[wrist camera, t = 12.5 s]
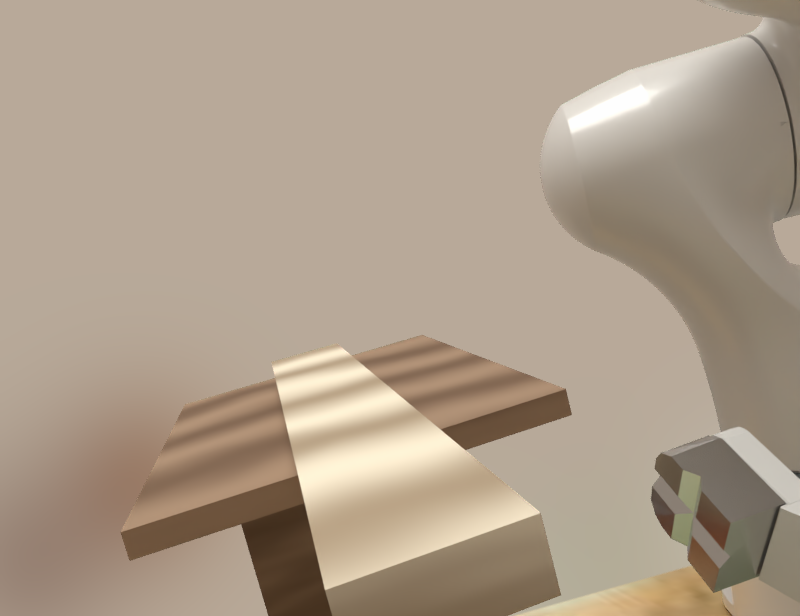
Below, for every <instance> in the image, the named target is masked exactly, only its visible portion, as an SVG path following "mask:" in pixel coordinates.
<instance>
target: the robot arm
mask: <svg viewBox="0 0 800 616" xmlns="http://www.w3.org/2000/svg"><path fill="white" fill-rule="evenodd" d="M698 1H700V2H703V3H705V4H707V5H709V6H712V7H715V8H718V9H722V10H726V11H730V12H734V13H740V14H746V15H753V16H760V17H763V19H762V22H761V24H760V25H759V27H758V28H757V29H755V30H754V31H752V32H750V33H748V34H745V35H743V36H741V37H740V38H737V39H734V40H731V41H727V42H723V43H720V44H717V45H713V46H710V47H706V48H703V49H700V50H696V51H693V52H689V53H686V54H683V55H679V56H676V57H673V58H669V59H666V60H662V61H659V62H655V63H652V64H649V65H645V66H642V67H638V68H635V69H632V70H629V71H627V72H625V73H622V74H620V75H618V76H616V77H614V78H612V79H610V80H608V81H606V82H604V83H602V84H600V85H598V86H596V87H594V88H592V89H590V90H588V91H587V92H584V93H582V94H581V95H579V96H577V97H575V98H573V99H572V100H570V101H568V102H566V103H564V104H562V105H561V106H560V107H559V109H558V110H557V112H556V113H555V115H554V116H553V119H552V120H551V122H550V124H549V126H548V129H547V132H546V134H545V137H544V141H543V145H542V151H541V156H540V175H541V183H542V188H543V192H544V195H545V198H546V201H547V203H548V205H549V208H550V209H551V211H552V213H553V215H554V216H555V218H556V219H557V221H558V222H559V223H560V225H562V227H563V228H564V229H565V230H566V231H567V232H568V233H569V234H570V235H571V236H572V237H573V238H575V239H576V240H577V241H579V242H580V243H582V244H583V245H585V246H587V247H588V248H591V249H592V250H594V251H597V252H600V253H602V254H605V255H607V256H609V257H611V258H613V259H615V260H617V261H620V262H621V263H623V264H625V265H626V266H628V267H630V268H631V269H633V270H634V271H636V272H638V273H639V274H640V275H642V276H643V277H644V278H646V279H647V280H648V281H649V282H651V283H652V284H653V285H654V286H655V287H656V288H657V289H658V290H659V291H660V292H661V293H662V294H663V295H664V296H665V297H666V298H667V299H668V300H669V301H670V302H671V304H672V305H673V306H674V308H675V309H676V310H677V311H678V313H679V314H680V316H681V317H682V318H683V320H684V322H685V324H686V325H687V327H688V329H689V331H690V333H691V335H692V337H693V339H694V341H695V344H696V345H697V349H698V351H699V354H700V357H701V360H702V363H703V366H704V369H705V373H706V376H707V379H708V383H709V386H710V390H711V393H712V397H713V401H714V405H715V409H716V412H717V417H718V421H719V426H720V430H721V432H720V433H717V434H715V435H712V436H706V437H704V438H701V439H698V440H695V441H692V442H690V443H687V444H684V445H682V446H679V447H676V448H674V449H671V450H668V451H665V452H663V453H661V454H660V455H659V456H658V457H657V458H656V464H655V470H656V471H657V472H658V473H659V474H660V477H659V478H658V480H657V481H656V482H655V483H654V485H653V486H652V496H651V501H652V504H653V507H654V511H655V515H656V516H657V518H658V520H659V522H660V524H661V526H662V527H663V528H664V530H665V531H666V532H667V534H668V535H669V536H670V538H672V539H673V540H675V541H678V542H680V543H682V544H684V545H686V546H687V551H688V561H689V562H690V563H691V565H692V566H693V567H694V568H695V570H696V571H697V572H698V574H699V575H700V576H701V577H702V579H703V580H704V581H705V582H706V584H707V585H708V586H709V587H710V589H711V590H712V591H713V593H714V592H717V591H720V590H721V591H722V601H723V604H724V606H725V607H726V609H727V610H728V611H729V612H730V613H731V615H732V616H800V265H796V264H792V263H789V262H788V261H787V260H786V258H785V257H784V255H783V254H782V252H781V250H780V249H779V246H778V244H777V242H776V239H775V235H774V231H773V223H774V222H776V221H779V220H781V219H783V218H787V217H792V216H796V215H800V0H698Z"/></svg>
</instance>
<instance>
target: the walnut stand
mask: <svg viewBox="0 0 800 616" xmlns="http://www.w3.org/2000/svg"><path fill="white" fill-rule="evenodd" d="M352 356H353V357H354V358H355V359H356V360H357V361H359V362H360V363H361V364H362V365H363V366H365V367H366V368H367V369H368V370H369V371H371V372H372V373H373V374H374V375H375V376H377V377H378V378H379V379H380V380H381V381H383V382H384V383H385V384H386V385H387V386H389V387H390V388H391V389H392V390H393V391H395V392H396V393H397V394H398V395H399V396H401V397H402V398H403V399H404V400H406V401H407V402H408V403H409V404H410V405H412V406H413V407H414V408H415V409H416V410H418V411H419V412H420V413H421V414H422V415H424V416H425V417H426V418H427V419H428V420H430V421H431V422H432V423H433V424H434V425H436V426H437V427H438V428H439V429H440V430H442V431H443V432H444V433H445V434H446V435H448V436H449V437H450V438H451V439H452V440H454V441H455V442H456V443H457V444H458V445H460V446H461V447H462V448H463V449H464V450H467V449H470V448H473V447H476V446H479V445H482V444H485V443H488V442H491V441H494V440H497V439H500V438H503V437H506V436H509V435H512V434H515V433H518V432H521V431H524V430H527V429H531V428H534V427H537V426H540V425H543V424H546V423H549V422H552V421H555V420H557V419H561V418H564V417H567V416H570V415H571V410H570V405H569V401H568V397H567V392H566V389H564V388H561V387H559V386H556V385H554V384H551V383H548V382H546V381H543V380H540V379H537V378H535V377H532V376H530V375H527V374H524V373H522V372H519V371H516V370H514V369H511V368H508V367H506V366H503V365H500V364H498V363H495V362H493V361H490V360H487V359H485V358H482V357H479V356H477V355H474V354H471V353H469V352H466V351H463V350H461V349H458V348H455V347H452V346H450V345H447V344H445V343H442V342H440V341H437V340H434V339H432V338H428V337H426V336H424V335H421V336H417V337H413V338H410V339H407V340H403V341H400V342H396V343H393V344H390V345H386V346H383V347H379V348H376V349H373V350H369V351H366V352H363V353H359V354H355V355H352ZM240 524H241V525H242V528H243V532H244V535H245V538H246V542H247V545H248V548H249V552H250V555H251V558H252V562H253V565H254V569H255V572H256V575H257V578H258V582H259V585H260V589H261V592H262V596H263V599H264V602H265V606H266V609H267V613H268V616H332V613H331V609H330V606H329V602H328V599H327V595H326V592H325V588H324V584H323V580H322V575H321V571H320V567H319V562H318V558H317V554H316V550H315V545H314V541H313V537H312V533H311V528H310V524H309V520H308V516H307V511H306V507H305V503H304V498H303V494H302V490H301V486H300V481H299V477H298V473H297V469H296V464H295V460H294V456H293V451H292V447H291V443H290V439H289V434H288V430H287V426H286V422H285V417H284V413H283V409H282V405H281V400H280V396H279V392H278V387H277V383H276V379H275V378H273V379H270V380H267V381H263V382H260V383H256V384H253V385H250V386H246V387H243V388H239V389H236V390H232V391H229V392H226V393H222V394H219V395H216V396H212V397H209V398H205V399H202V400H198V401H195V402H192V403H188V404H185V406H184V408H183V410H182V411H181V413H180V415H179V417H178V420H177V421H176V424H175V426H174V427H173V429H172V432H171V433H170V435H169V437H168V439H167V441H166V443H165V445H164V447H163V449H162V451H161V453H160V455H159V457H158V459H157V461H156V463H155V465H154V467H153V469H152V471H151V473H150V475H149V477H148V479H147V481H146V483H145V485H144V487H143V489H142V491H141V493H140V495H139V497H138V499H137V501H136V503H135V505H134V507H133V509H132V511H131V513H130V515H129V517H128V519H127V521H126V523H125V525H124V527H123V528H122V531H121V535H122V538H123V541H124V545H125V548H126V551H127V554H128V557H129V560H130V561H131V560H133V559H136V558H140V557H143V556H146V555H149V554H152V553H155V552H158V551H161V550H164V549H167V548H170V547H173V546H176V545H179V544H182V543H185V542H188V541H191V540H194V539H197V538H200V537H203V536H206V535H209V534H212V533H215V532H218V531H221V530H225V529H227V528H231V527H234V526H237V525H240Z"/></svg>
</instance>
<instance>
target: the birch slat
mask: <svg viewBox="0 0 800 616" xmlns="http://www.w3.org/2000/svg"><path fill="white" fill-rule="evenodd" d="M272 366H273V370H274V375H275V379H276V383H277V387H278V392H279V396H280V400H281V405H282V409H283V413H284V417H285V422H286V426H287V430H288V434H289V439H290V443H291V447H292V451H293V456H294V460H295V464H296V469H297V473H298V477H299V481H300V486H301V490H302V494H303V498H304V503H305V507H306V511H307V516H308V520H309V524H310V528H311V533H312V537H313V541H314V545H315V550H316V554H317V558H318V562H319V567H320V571H321V575H322V580H323V584H324V588H325V592H326V595H327V599H328V602H329V606H330V609H331V613H332V616H508V615H511V614H513V613H516V612H518V611H521V610H524V609H526V608H528V607H531V606H534V605H537V604H539V603H542V602H544V601H547V600H550V599H552V598H555V597H557V596H560V595H561V593H560V589H559V586H558V581H557V577H556V573H555V569H554V565H553V561H552V557H551V553H550V548H549V545H548V540H547V536H546V532H545V528H544V524H543V520H542V516H541V513H540V512H539V511H538V510H537V509H535V508H534V507H533V506H532V505H530V504H529V503H528V502H527V501H526V500H525V499H523V498H522V497H521V496H520V495H519V494H517V493H516V492H515V491H514V490H513V489H511V488H510V487H509V486H508V485H507V484H505V483H504V482H503V481H502V480H500V479H499V478H498V477H497V476H496V475H494V474H493V473H492V472H491V471H490V470H488V469H487V468H486V467H485V466H484V465H482V464H481V463H480V462H479V461H478V460H476V459H475V458H474V457H473V456H472V455H470V454H469V453H468V452H467V451H466V450H464V449H463V448H462V447H461V446H460V445H458V444H457V443H456V442H455V441H454V440H452V439H451V438H450V437H449V436H448V435H446V434H445V433H444V432H443V431H442V430H440V429H439V428H438V427H437V426H436V425H434V424H433V423H432V422H431V421H430V420H428V419H427V418H426V417H425V416H424V415H422V414H421V413H420V412H419V411H418V410H416V409H415V408H414V407H413V406H412V405H410V404H409V403H408V402H407V401H406V400H404V399H403V398H402V397H401V396H399V395H398V394H397V393H396V392H395V391H393V390H392V389H391V388H390V387H389V386H387V385H386V384H385V383H384V382H383V381H381V380H380V379H379V378H378V377H377V376H375V375H374V374H373V373H372V372H371V371H369V370H368V369H367V368H366V367H365V366H363V365H362V364H361V363H360V362H359V361H357V360H356V359H355V358H354V357H353V356H351V355H350V354H349V353H348V352H347V351H345V350H344V349H343V348H342V347H341V346H339V345H338V344H332V345H329V346H326V347H322V348H319V349H315V350H312V351H308V352H305V353H301V354H298V355H295V356H291V357H288V358H284V359H281V360H277V361H274V362H272Z"/></svg>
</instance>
